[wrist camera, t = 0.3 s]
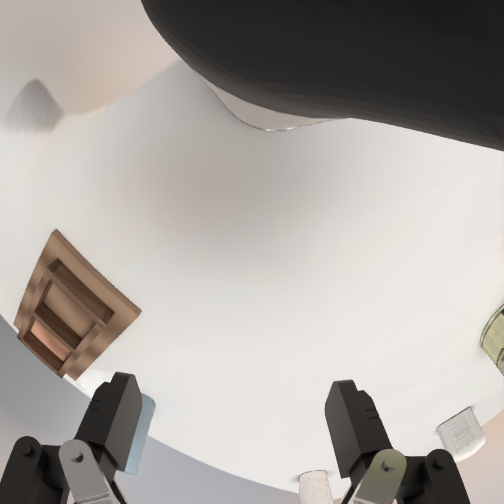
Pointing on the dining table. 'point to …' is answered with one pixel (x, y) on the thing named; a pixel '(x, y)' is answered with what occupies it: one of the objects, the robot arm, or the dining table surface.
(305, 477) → the white cup
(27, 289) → the slot rack
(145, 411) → the slate peg
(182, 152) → the dining table surface
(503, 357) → the coffee can
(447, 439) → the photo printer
